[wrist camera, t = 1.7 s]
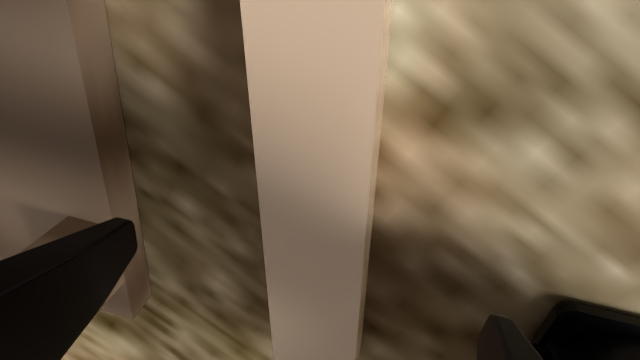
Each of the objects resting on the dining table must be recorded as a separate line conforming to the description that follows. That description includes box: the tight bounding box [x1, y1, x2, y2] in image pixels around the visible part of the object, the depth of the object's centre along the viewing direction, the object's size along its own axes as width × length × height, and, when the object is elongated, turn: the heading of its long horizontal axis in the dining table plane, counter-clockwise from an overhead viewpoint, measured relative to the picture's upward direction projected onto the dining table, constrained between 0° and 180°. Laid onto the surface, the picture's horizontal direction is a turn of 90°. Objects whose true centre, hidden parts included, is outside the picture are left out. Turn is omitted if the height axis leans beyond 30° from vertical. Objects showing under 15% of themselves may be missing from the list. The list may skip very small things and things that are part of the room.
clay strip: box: [240, 0, 393, 360], centre depth 12 cm, size 16×3×4 cm, turn 0°
